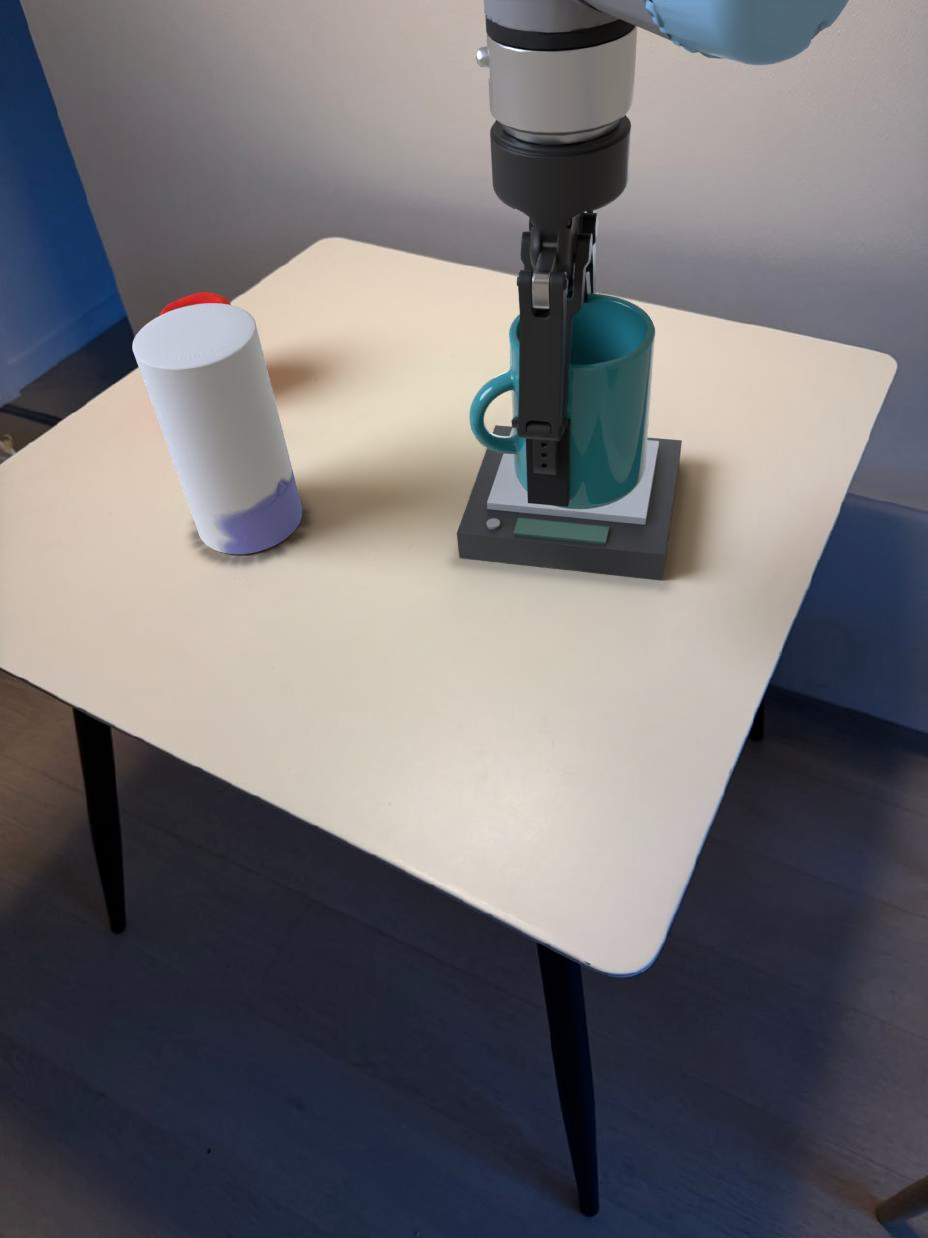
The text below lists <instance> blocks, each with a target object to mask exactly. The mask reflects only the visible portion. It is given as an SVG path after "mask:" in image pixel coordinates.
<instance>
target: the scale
mask: <svg viewBox="0 0 928 1238" xmlns="http://www.w3.org/2000/svg"><path fill="white" fill-rule="evenodd" d="M512 430H513V428H512V425H500V424H499V425H497V424H496V425H494V428H493V431H492V433H493V434H495V435H499V436H512ZM682 443H683V440H681V439H673V438H672V439H671V438H660V437H659V438H658V437H647V450H646V462H645V470H644V474H643V477H642V479H641V481H640V482H639V484H638V485H637V487H636V488H635V489H634V490H633V491H632V492H631V493H629V494H628V495H627V496H625V497H624V498H622V499H620V500H618V501H616V502H614V503H612V504H609V505H606V506H602V507H598V508H592V509H567V508H560V507H556V506H552V505H541V504H530V503H528V498H527V491H526V490H525V489H524V488H523V486H522V485H521V484H520V482H519V480H518V478H517V476H516V472H515V463H514V454H504V453H498V452H495V451H492V450H490V449H488V448H486V450H485V453H484V455H483V459H482V461H481V463H480V467H479V470H478V473H477V475H476V478H475V481H474V483H473V487H472V489H471V492H470V495H469V498H468V500H467V503H466V506H465V508H464V512H463V514H462V518H461V520H460V522H459V525H458V528H457V530H456V531H457V532H456V540H457V549H458V557H459V559H466V560H477V561H482V562H483V561H484V562H494V563H502V564H510V565H511V564H512V565H520V566H529V567H539V568H549V569H555V570H556V569H558V570H565V571H566V570H567V571H574V572H575V571H576V572H583V573H592V574H601V575H611V576H619V577H629V578H639V579H647V580H655V581H663V580H664V574H665V573H664V572H665V566H666V559H667V552H668V545H669V539H670V532H671V524H672V519H673V511H674V504H675V496H676V490H677V482H678V476H679V470H680V461H681V452H682Z"/></svg>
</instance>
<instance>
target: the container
mask: <svg viewBox="0 0 928 1238" xmlns="http://www.w3.org/2000/svg"><path fill="white" fill-rule="evenodd" d="M131 346H132V347H131V348H132V352H133V355H134V357H135V360H136V364H137V366H138V369H139V371H140V374H141V378H142V380H143V384H144V385H145V388H146V391H147V394H148V397H149V399H150V402H151V406H152V409H153V410H154V411H153V412H154V413H155V416H156V419H157V422H158V424H159V427H160V430H161V433H162V436H163V438H164V441H165V444H166V447H167V449H168V453H169V455H170V458H171V461H172V464H173V466H174V469H175V472H176V475H177V477H178V481H179V484H180V486H181V489H182V491H183V494H184V497H185V500H186V503H187V505H188V508H189V511H190V513H191V516H192V519H193V522H194V524H195V528H196V530H197V533H198V535H199V538H200V540H201V541H202V542H203V543H204V544H205V545H206V546H207V547H208V548H210V549H212V550H214V551H217V552H220V553H224V554H229V555H247V554H253V553H259V552H262V551H264V550H268V549H270V548H273V547H274V546H276V545H278V544H280V543H282V542H283V541H285V540H286V539H287V538H288V537H290V536H291V535H292V534H293V533H294V532H295V530H296V529H298V527H299V525H300V523H301V520H302V518H303V506H302V501H301V498H300V494H299V490H298V486H297V483H296V482H297V481H296V478H295V474H294V470H293V465H292V462H291V457H290V454H289V449H288V446H287V442H286V438H285V433H284V431H283V426H282V422H281V418H280V414H279V411H278V410H279V409H278V407H277V406H278V405H277V403H276V398H275V395H274V390H273V386H272V382H271V378H270V373H269V371H268V366H267V362H266V359H265V355H264V351H263V347H262V342H261V338H260V335H259V331H258V326H257V323H256V320H255V318H254V316H252V314H251V313H249V311H247V310H245V309H243V308H242V307H239V306H235V305H232V304H231V305H228V304H219V303H206V304H197V305H191V306H186V307H182V308H178V309H175V310H172V311H170V312H167V313H165V314H163V315H161V316H156V317H155V318H153V319H151V320H150V321H148V323H146V324H145V325H143V326H142V327H141V329H140V330H139V331H138V332H137V334H136V335H135V336H134V338H133V341H132V345H131Z"/></svg>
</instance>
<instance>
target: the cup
mask: <svg viewBox="0 0 928 1238" xmlns="http://www.w3.org/2000/svg"><path fill="white" fill-rule="evenodd" d="M567 299H570V298H567ZM519 336H520V313H518V314H517V316H515V317H514V319H513V320H512V322H511V325H510V326H509V330H508V346H509V347H508V348H509V349H508V350H509V351H508V352H509V367H508V370H507V371H505V372H503V373H501V374H498V375H496V376H494V377H492V378H491V379H490V380H489V379H488V381H486V382H485V383H484V384H483V385H482V386H481V387H480V388H479V389H478V390H477V392H476V393H475V395H474V397H473V399H472V400H471V403H470V406H469V407H470V408H469V413H468V421H469V425H470V426H469V427H470V430H471V432H472V434H473V436H474V438H475V439H476V440H477V441H478V442H479V444H481V446H483V447H484V448H486V449H487V448H488V449H490V450H492V451H495V452H498V453H504V454H514V463H515V472H516V476H517V478H518V480H519V482H520V484H521V485H522V486H523V488H524V489H525V490H526V491H527V466H526V438H519V436H518V432H517V428H513V430H512V436H499V435H495V434H493V432H492V431H490V430H489V429H488V428H487V426H486V424H485V415H486V412H487V410H488V408H489V407H490V405H491V404H492V402H494V401H495V399H496V398H499V396H501V395H503V394H505V393H508V392H510V394H511V395H510V396H511V418H512V419H513V418H514V417H515V416H516V417H518V415H519ZM655 342H656V327H655V323H654V321H653V319H652V317H651V315H649V313H648V312H647V311H646V310H645V309H643V308H642V307H640V306H639V305H637V304H635V303H633V302H632V301H629V300H626V299H625V298H621V297H617V296H614V295H610V294H603V293H596V294H594V293H589V295H588V303H584V302H583V307H582V309H581V311H579V312H578V313H576V314H575V315H574V321H573V335H572V348H571V362H570V365H569V371H568V403H567V418H568V419H570V501H569V505H568V507H563V506H556V507H560V508H567V509H592V508H598V507H602V506H606V505H609V504H612V503H614V502H616V501H618V500H620V499H622V498H624V497H625V496H627V495H628V494H629V493H631V492H632V491H633V490H634V489H635V488H636V487H637V485H638V484H639V482H640V481H641V479H642V477H643V474H644V470H645V462H646V450H647V437H648V434H649V423H650V409H651V408H650V407H651V396H652V395H651V394H652V384H653V383H652V382H653V369H654V368H653V367H654V355H655ZM512 419H511V420H512ZM648 438H649V437H648Z"/></svg>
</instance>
